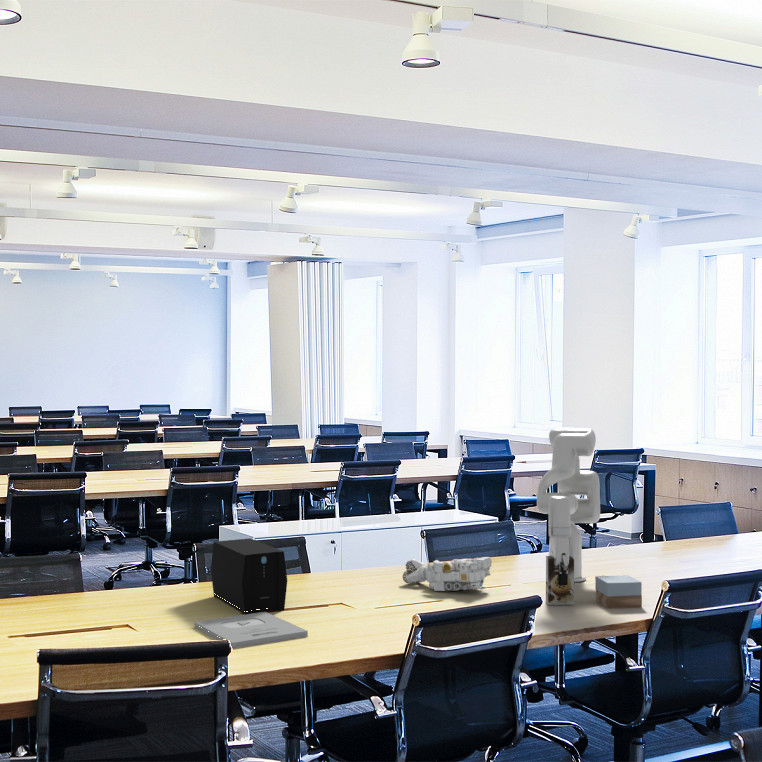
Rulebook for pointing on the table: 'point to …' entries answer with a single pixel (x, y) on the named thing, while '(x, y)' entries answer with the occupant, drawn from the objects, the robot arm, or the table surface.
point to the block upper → (618, 585)
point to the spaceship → (450, 573)
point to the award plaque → (251, 629)
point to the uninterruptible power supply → (249, 575)
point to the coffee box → (559, 592)
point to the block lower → (619, 601)
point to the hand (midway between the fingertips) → (559, 582)
